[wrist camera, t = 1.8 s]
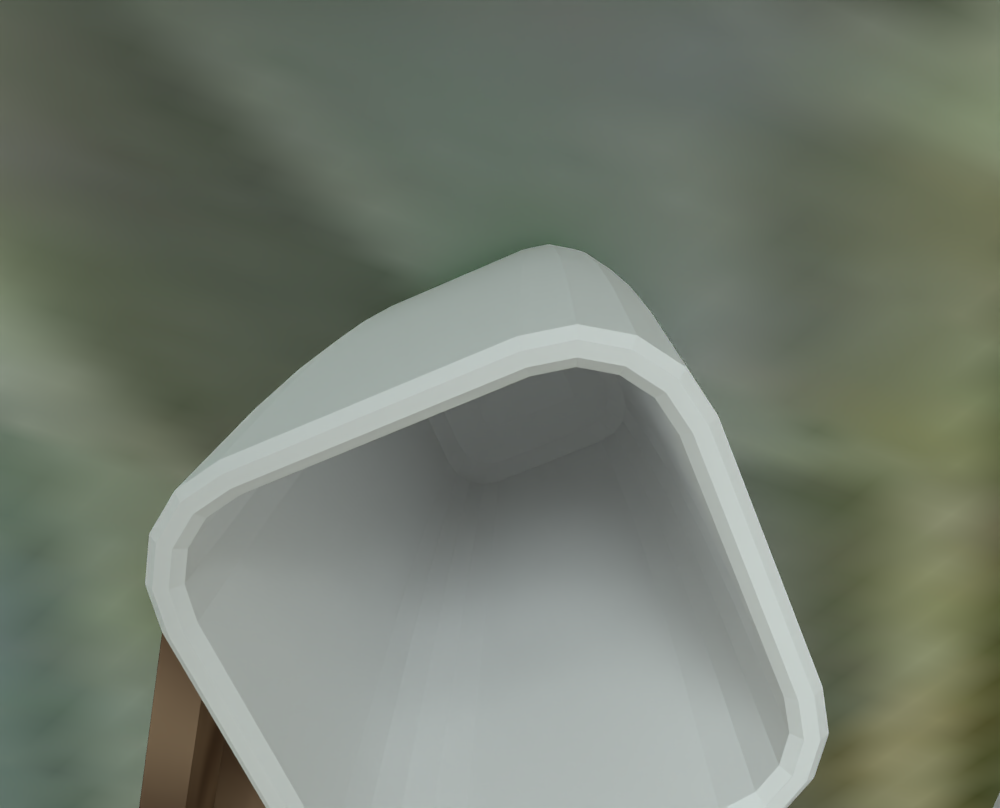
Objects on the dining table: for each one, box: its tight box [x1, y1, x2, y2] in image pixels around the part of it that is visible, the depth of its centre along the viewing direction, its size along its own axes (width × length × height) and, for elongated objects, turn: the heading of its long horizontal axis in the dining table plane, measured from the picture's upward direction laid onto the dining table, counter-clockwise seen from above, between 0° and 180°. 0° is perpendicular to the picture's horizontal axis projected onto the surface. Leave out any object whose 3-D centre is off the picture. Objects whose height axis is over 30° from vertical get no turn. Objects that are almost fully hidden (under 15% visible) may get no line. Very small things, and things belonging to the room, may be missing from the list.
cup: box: [145, 244, 829, 808], centre depth 19 cm, size 7×7×15 cm
